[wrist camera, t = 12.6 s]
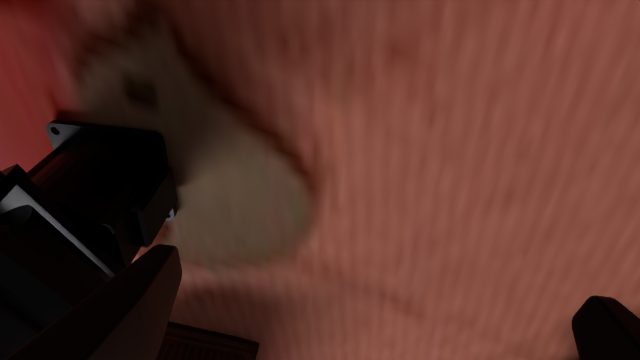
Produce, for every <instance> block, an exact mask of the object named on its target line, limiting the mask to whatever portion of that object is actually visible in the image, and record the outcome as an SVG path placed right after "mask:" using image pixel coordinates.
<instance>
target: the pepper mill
mask: <svg viewBox="0 0 640 360" xmlns="http://www.w3.org/2000/svg"><path fill="white" fill-rule="evenodd" d="M258 348H259V343H255V342H252V341H248V340H245V339H241V338H238V337H234V336H229V335H225V334H220V333H216V332H211V331H207V330H202V329H198V328H193V327H189V326H184V325H180V324H175V323H171V322H168V324H167V327H166V331H165V334H164V337H163V340H162V343H161V346H160V349H159V351H158V354H157V356H156V358H155V360H255V359H256V355H257V351H258Z"/></svg>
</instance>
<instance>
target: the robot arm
mask: <svg viewBox="0 0 640 360" xmlns="http://www.w3.org/2000/svg"><path fill="white" fill-rule="evenodd" d="M56 128H57V129H59V131H58V130H57V129H56ZM46 130H47V132H48V135H49V138H50V140H51V143H52V146H53V148H54V150H53V151H52V152H51V153H50V154H49V155H47V156H46V157H45V158H44V159H43V160H42V161H40V162H39V163H38V164H37V165H36V166H34V167H33V168H32V169H31V170H30V171H28V172H27V173H26V172H25V171H24V170H23V169H22V168H21V167H20V166H19V165H18V164H16V165H13V166H11V167H9V168H7V169H5V170H3V171H0V360H155V358H156V356H157V354H158V351H159V349H160V346H161V343H162V340H163V337H164V334H165V331H166V327H167V324H168V321H169V318H170V314H171V311H172V308H173V305H174V301H175V298H176V295H177V292H178V289H179V285H180V282H181V278H182V268H181V263H180V257H179V252H178V249H177V247H176V246H172V245H163V244H158V245H156V246H154V247H152V248H151V249H150V250H149V251H147V252H146V253H145V254H143V255H142V256H141V257H139V258H138V259H137V260H135V261H134V262H133V263H132V261H133V259H134V258H135V256H136V255H137V253H138V251H139V250H140V248H141V247H146V248H147V247H149V246H150V245H151V244H152V242H153V241H154V239H155V237H156V236H157V234H158V232H159V231H160V229H161V227H162V225H163V224H164V222H165V221H171V220H173V219H174V217H175V216H176V213H177V212H176V206H175V203H176V202H177V196H176V191H175V185H174V179H173V173H172V169H171V168H170V166H168V161H167V155H166V149H165V143H164V139H163V136H162V135H161V134H160V133H158V132H155V131H149V130H141V129H132V128H123V127H115V126H106V125H97V124H89V123H80V122H72V121H63V120H53V121H51V122H50V123H49V124H47V126H46ZM151 138H152V139H154V140H156V142H153V141H152V140H151ZM572 330H573V334H574V338H575V342H576V346H577V350H578V354H579V358H580V360H640V319H639V318H638V317H637V316H636V315H634V314H633V313H632V312H631V311H630V310H628V309H627V308H626V307H625V306H623V305H622V304H621V303H620V302H618V301H617V300H616V299H614V298H611V297H604V296H591V297H589V298H588V299H587V300H586V301H585V303H584V304H583V305H582V306H581V308H580V309H579V310H578V311H577V312H576V314H575V315H574V316H573V319H572Z"/></svg>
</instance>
